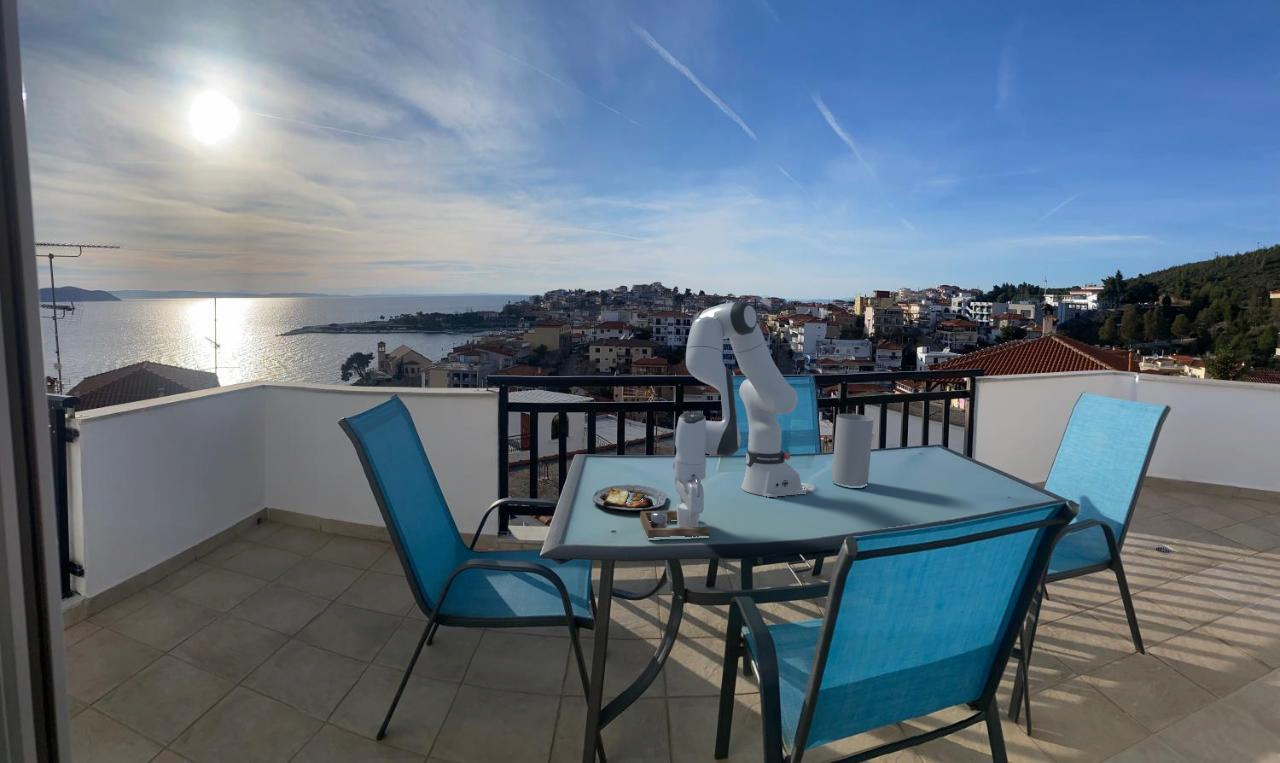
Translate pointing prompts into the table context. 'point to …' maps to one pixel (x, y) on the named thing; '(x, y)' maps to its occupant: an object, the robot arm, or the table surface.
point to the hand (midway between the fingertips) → (688, 517)
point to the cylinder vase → (852, 449)
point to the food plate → (619, 494)
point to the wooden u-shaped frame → (668, 532)
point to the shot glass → (684, 516)
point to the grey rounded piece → (658, 519)
